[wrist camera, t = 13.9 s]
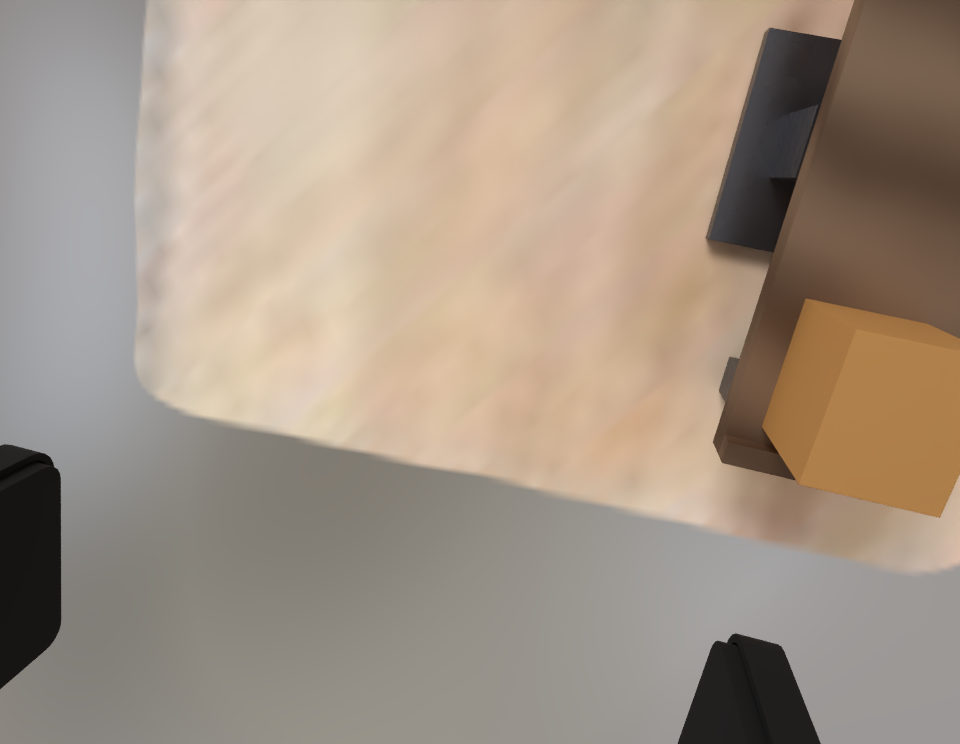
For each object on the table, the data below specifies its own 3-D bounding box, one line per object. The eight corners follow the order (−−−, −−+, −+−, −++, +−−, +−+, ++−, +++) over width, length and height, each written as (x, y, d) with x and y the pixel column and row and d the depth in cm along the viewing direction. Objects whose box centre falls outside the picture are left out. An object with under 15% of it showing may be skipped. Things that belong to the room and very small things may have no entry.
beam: (940, -267, 24) (977, -314, 22) (1180, -237, 23) (1246, -283, 21) (713, 441, 33) (722, 462, 30) (883, 481, 32) (906, 506, 30)
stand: (765, 32, 33) (798, 3, 27) (1025, 76, 32) (1113, 56, 26) (665, 378, 38) (676, 411, 33) (884, 427, 37) (933, 470, 32)
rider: (805, 298, 29) (856, 329, 23) (927, 323, 28) (1009, 361, 23) (761, 426, 31) (799, 484, 25) (875, 452, 30) (939, 517, 25)
